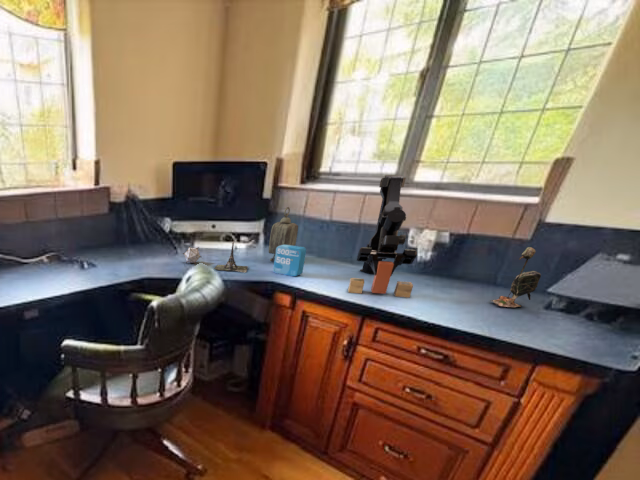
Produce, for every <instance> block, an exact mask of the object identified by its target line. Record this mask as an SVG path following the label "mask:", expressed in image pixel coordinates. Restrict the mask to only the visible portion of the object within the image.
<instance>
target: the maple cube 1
mask: <svg viewBox="0 0 640 480" xmlns="http://www.w3.org/2000/svg"><path fill="white" fill-rule="evenodd" d="M364 286H365V279H364V278H357V277H350V279H349V284H348V288H347V293H348V294H363V291H364Z"/></svg>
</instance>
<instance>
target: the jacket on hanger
mask: <svg viewBox="0 0 640 480" xmlns="http://www.w3.org/2000/svg"><path fill="white" fill-rule="evenodd" d="M290 208H291V207H289V206H286V208H285V209H284V211H283V217H282V218H281V219H280V221H277V222H275V223H273V225H272V226H271V230H270V234H269V235H270V236H269V242H268V253H269V254H271V255H273V256H272V258H270V259H269V262H274V259H275V254H276V248H277V247H278V246H281V245H292V246H297V245H296V244H297V238H298V233H299V232H298V231H299V225H298V224H296V223H295V222H292V220H291V218H290V217H288V216H289V215H290V211H291V209H290ZM287 210H288V212H287ZM286 212H287V213H286Z"/></svg>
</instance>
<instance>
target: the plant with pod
mask: <svg viewBox="0 0 640 480" xmlns="http://www.w3.org/2000/svg"><path fill="white" fill-rule="evenodd" d="M535 253H536V249H535V248H533V247H531V246H528V247H526V248H525V249H524V251H523V252H522V253H521V256H520V257H519V258H518V260H521V259H525V262H524V264H523V266H522V269H521V271H520V273H519V274H518V275H516V277H515V278H514V279H513V281H512V283H511V285H510V290H509V291H510V292H509V294H508V296H504V295H500V296H498V299H493V300H491V302H492V303H494V304H495V305H496V306H498V307H504V308H506V307H507V308H518V307H521V305H519V304H518V303H516V302H515V301H516V300H517V299H518V298H519V297H521V296H525V295H526V296H527V299H528V300H529V301H531V293H533V292H535V291H536V289H537V288H538V285H539V281H540V279H541V277H542V274H541V273H540V272H538V271H536V270H531V271H526V272H525V271H524V269H525V267H526V265H527V263H528V261H529V260H530V259H532V258H533V257H534V255H535ZM511 294H512V296H511V297H510V295H511Z"/></svg>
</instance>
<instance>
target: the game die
mask: <svg viewBox="0 0 640 480" xmlns="http://www.w3.org/2000/svg"><path fill="white" fill-rule="evenodd" d="M199 248H200V247H199V246H198V247H191V246H188V249H187V250H186V251H185V252H183V253H182V255H183V256H184V258H185V261H186V262H185V264H187V263H190V264H194V265H197V264H196V263H197V262H198V260H199V259H200V258H202V256H201V255H200V251H199Z"/></svg>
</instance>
